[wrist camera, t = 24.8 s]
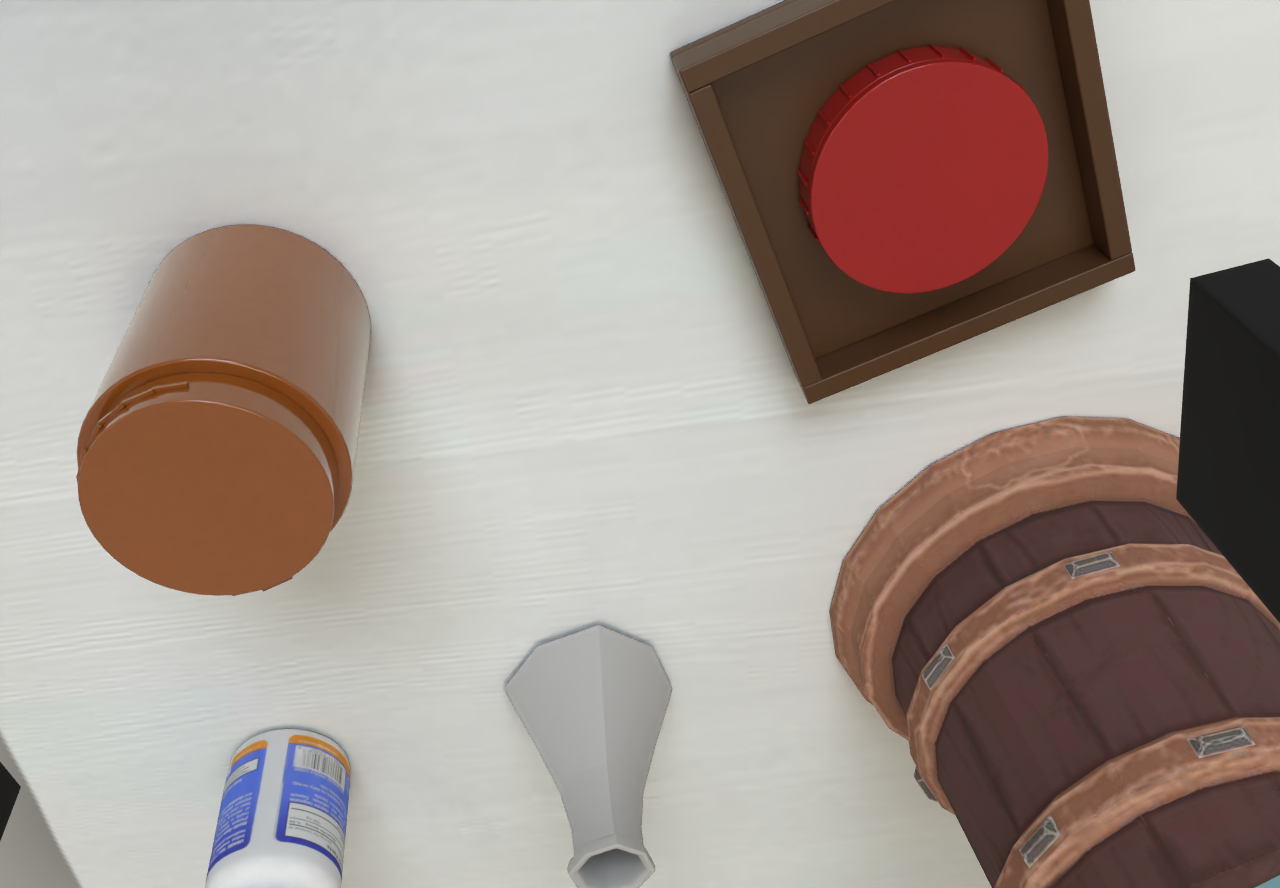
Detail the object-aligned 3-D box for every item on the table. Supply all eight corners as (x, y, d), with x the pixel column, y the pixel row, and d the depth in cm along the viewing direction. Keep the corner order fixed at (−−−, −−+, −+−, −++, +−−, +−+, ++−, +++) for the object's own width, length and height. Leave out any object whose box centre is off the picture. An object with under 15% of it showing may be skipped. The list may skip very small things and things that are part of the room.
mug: (1258, 693, 60) (1560, 1090, 44) (819, 749, 58) (962, 1187, 42) (1373, 382, 49) (1826, 753, 33) (841, 439, 48) (1043, 861, 31)
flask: (698, 684, 54) (741, 869, 46) (577, 760, 56) (597, 952, 48) (601, 598, 51) (628, 783, 43) (474, 683, 53) (477, 876, 44)
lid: (988, 279, 44) (1007, 302, 42) (775, 264, 42) (787, 287, 41) (1061, 57, 39) (1084, 73, 38) (825, 31, 38) (840, 47, 36)
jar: (98, 278, 40) (-2, 455, 31) (297, 187, 39) (252, 344, 30) (227, 444, 44) (171, 640, 36) (409, 366, 43) (397, 547, 35)
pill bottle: (245, 810, 55) (209, 1008, 47) (216, 732, 52) (172, 928, 44) (362, 795, 56) (346, 988, 48) (340, 716, 53) (319, 908, 45)
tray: (668, 52, 38) (678, 71, 36) (1044, -118, 36) (1072, -107, 35) (796, 377, 46) (808, 405, 44) (1111, 247, 44) (1136, 271, 43)
